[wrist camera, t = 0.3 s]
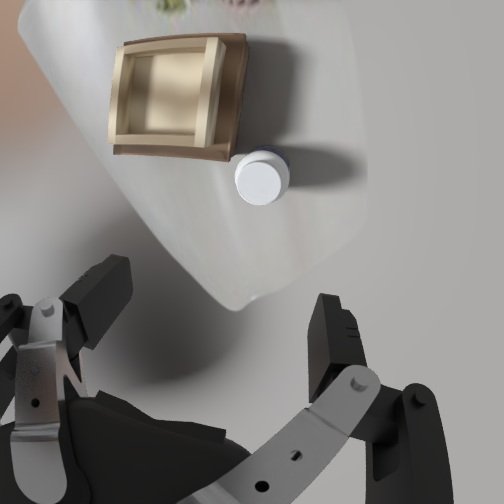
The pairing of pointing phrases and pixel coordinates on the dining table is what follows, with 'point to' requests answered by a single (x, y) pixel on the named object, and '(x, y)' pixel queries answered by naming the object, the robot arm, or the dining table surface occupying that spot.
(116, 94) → the top crate
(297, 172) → the dining table surface
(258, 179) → the pill bottle
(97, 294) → the robot arm
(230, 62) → the box
